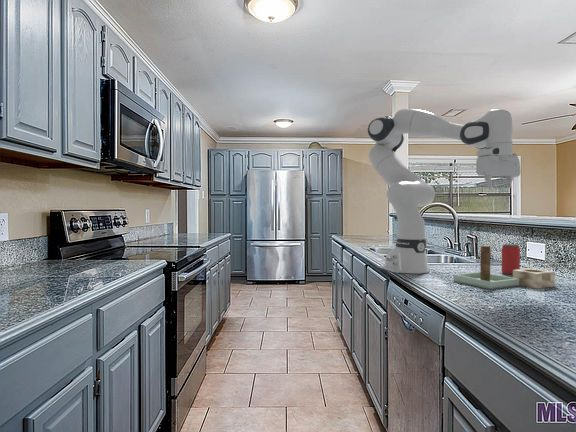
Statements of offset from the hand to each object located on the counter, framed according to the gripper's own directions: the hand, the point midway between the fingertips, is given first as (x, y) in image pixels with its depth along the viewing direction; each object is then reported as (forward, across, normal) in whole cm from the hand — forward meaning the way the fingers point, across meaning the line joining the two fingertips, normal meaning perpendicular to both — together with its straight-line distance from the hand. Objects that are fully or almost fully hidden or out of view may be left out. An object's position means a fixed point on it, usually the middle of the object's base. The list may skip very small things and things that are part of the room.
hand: (498, 188), depth 146 cm
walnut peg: (+34, +12, +4) cm, 37 cm away
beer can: (+35, -15, -6) cm, 39 cm away
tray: (+35, +12, +4) cm, 37 cm away
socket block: (+35, -1, +13) cm, 37 cm away
